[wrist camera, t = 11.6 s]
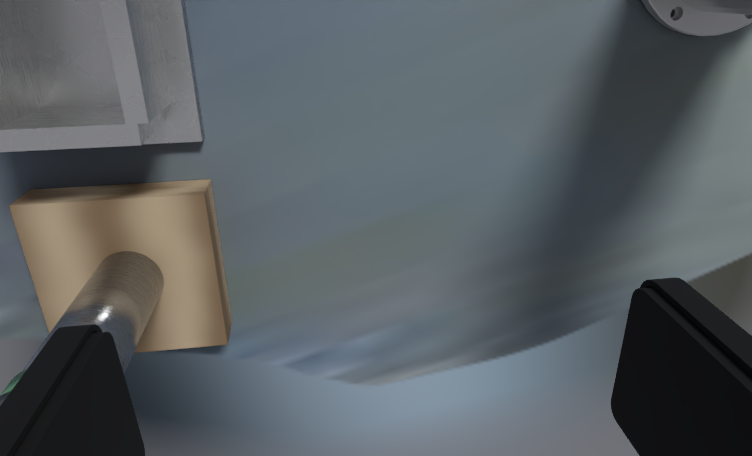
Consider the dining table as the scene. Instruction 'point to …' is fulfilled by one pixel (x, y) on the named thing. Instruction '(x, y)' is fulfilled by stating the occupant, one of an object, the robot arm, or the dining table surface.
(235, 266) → the dining table surface
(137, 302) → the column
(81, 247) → the tan flat square block
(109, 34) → the stand base
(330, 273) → the dining table surface
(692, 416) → the robot arm
